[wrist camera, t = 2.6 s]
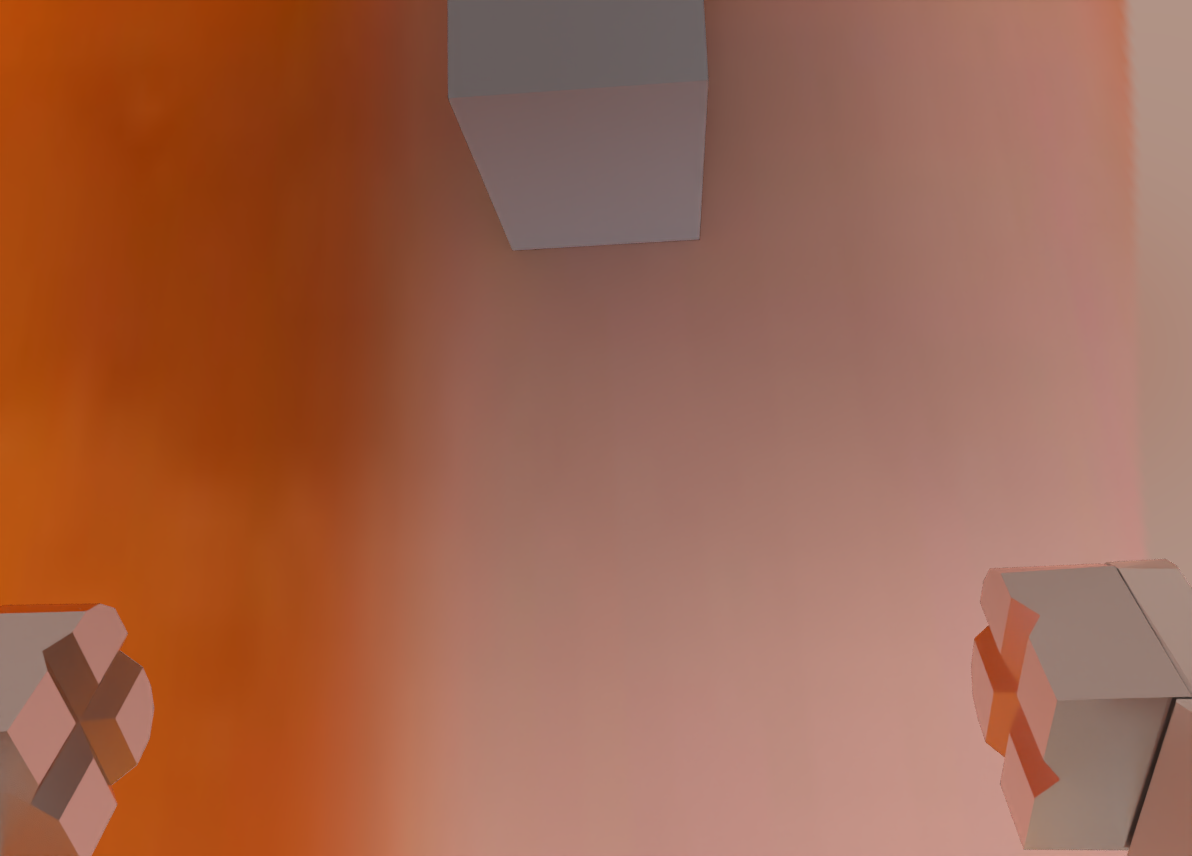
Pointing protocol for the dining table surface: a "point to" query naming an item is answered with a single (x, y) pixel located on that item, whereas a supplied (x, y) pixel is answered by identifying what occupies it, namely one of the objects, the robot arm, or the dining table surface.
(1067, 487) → the dining table surface
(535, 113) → the grey block
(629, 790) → the dining table surface
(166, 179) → the dining table surface
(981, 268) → the dining table surface
